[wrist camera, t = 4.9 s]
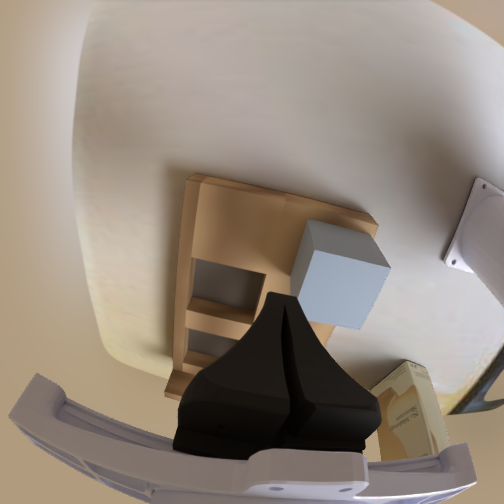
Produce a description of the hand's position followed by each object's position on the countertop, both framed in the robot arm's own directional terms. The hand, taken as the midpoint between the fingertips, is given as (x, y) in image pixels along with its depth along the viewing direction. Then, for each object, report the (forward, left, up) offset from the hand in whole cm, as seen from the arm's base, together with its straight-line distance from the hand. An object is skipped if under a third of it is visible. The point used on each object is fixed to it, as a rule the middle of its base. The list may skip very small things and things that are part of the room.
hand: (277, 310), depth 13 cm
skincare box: (-18, +14, -9) cm, 25 cm away
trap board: (0, +7, -9) cm, 11 cm away
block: (-4, 0, -7) cm, 8 cm away
